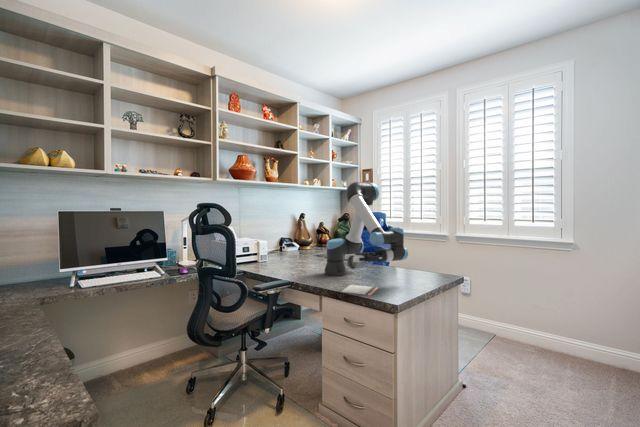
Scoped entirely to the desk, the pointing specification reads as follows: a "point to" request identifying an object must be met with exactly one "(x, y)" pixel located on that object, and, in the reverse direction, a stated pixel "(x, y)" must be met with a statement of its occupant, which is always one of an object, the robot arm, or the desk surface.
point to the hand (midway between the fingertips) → (349, 258)
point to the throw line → (373, 291)
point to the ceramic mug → (355, 263)
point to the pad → (357, 289)
